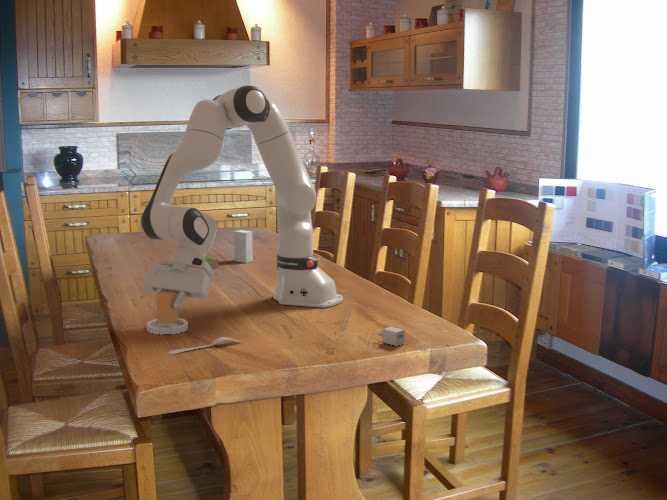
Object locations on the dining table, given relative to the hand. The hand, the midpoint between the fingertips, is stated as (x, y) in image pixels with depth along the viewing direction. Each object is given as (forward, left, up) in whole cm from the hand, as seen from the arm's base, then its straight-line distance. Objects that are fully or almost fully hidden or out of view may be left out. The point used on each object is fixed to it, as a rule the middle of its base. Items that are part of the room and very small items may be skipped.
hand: (165, 306), depth 213 cm
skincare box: (+28, -87, -7) cm, 91 cm away
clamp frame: (+36, -65, -7) cm, 74 cm away
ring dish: (0, -1, -7) cm, 7 cm away
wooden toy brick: (0, -1, -5) cm, 5 cm away
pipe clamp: (+34, -64, -7) cm, 73 cm away
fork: (-18, +8, -7) cm, 22 cm away
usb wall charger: (-59, -17, -7) cm, 62 cm away
